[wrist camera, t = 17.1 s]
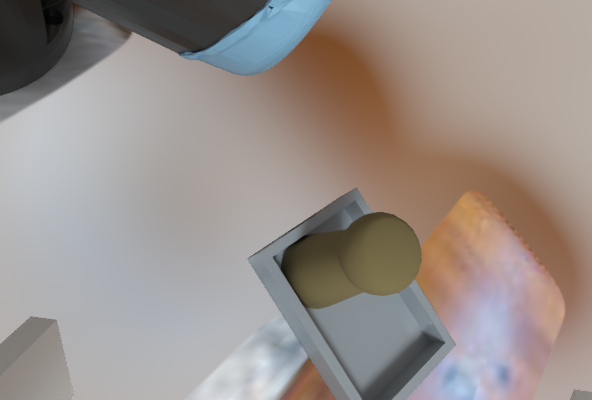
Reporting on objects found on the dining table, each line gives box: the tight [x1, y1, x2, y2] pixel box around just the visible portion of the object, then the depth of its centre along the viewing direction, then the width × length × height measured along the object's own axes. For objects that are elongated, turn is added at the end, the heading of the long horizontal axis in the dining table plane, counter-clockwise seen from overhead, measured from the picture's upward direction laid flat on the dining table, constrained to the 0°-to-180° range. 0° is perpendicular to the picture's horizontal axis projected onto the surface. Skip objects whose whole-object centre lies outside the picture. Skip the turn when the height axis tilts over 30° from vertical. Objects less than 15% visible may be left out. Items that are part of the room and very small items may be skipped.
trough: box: [248, 188, 456, 400], centre depth 36 cm, size 16×11×3 cm
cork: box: [281, 212, 421, 309], centre depth 31 cm, size 6×6×11 cm
